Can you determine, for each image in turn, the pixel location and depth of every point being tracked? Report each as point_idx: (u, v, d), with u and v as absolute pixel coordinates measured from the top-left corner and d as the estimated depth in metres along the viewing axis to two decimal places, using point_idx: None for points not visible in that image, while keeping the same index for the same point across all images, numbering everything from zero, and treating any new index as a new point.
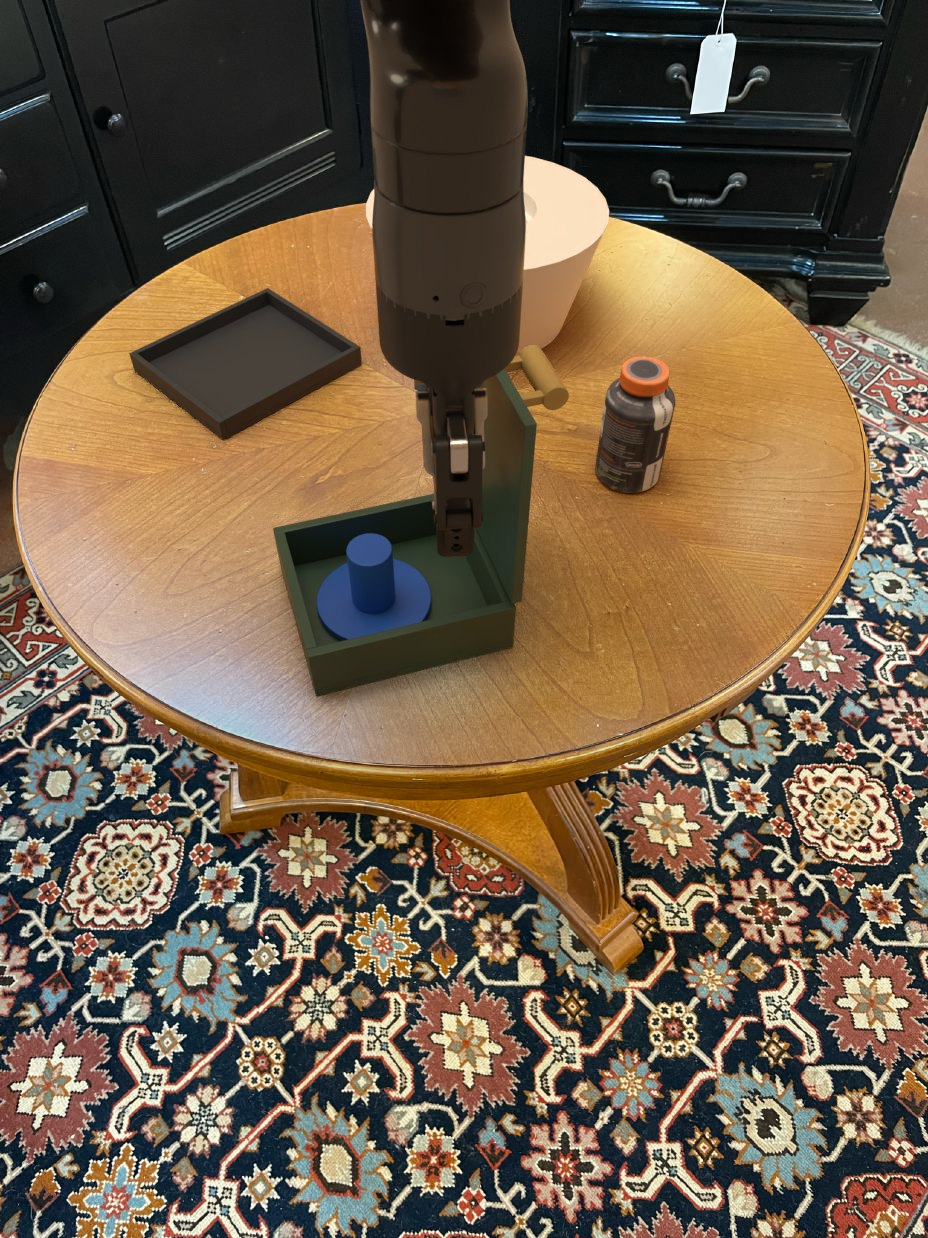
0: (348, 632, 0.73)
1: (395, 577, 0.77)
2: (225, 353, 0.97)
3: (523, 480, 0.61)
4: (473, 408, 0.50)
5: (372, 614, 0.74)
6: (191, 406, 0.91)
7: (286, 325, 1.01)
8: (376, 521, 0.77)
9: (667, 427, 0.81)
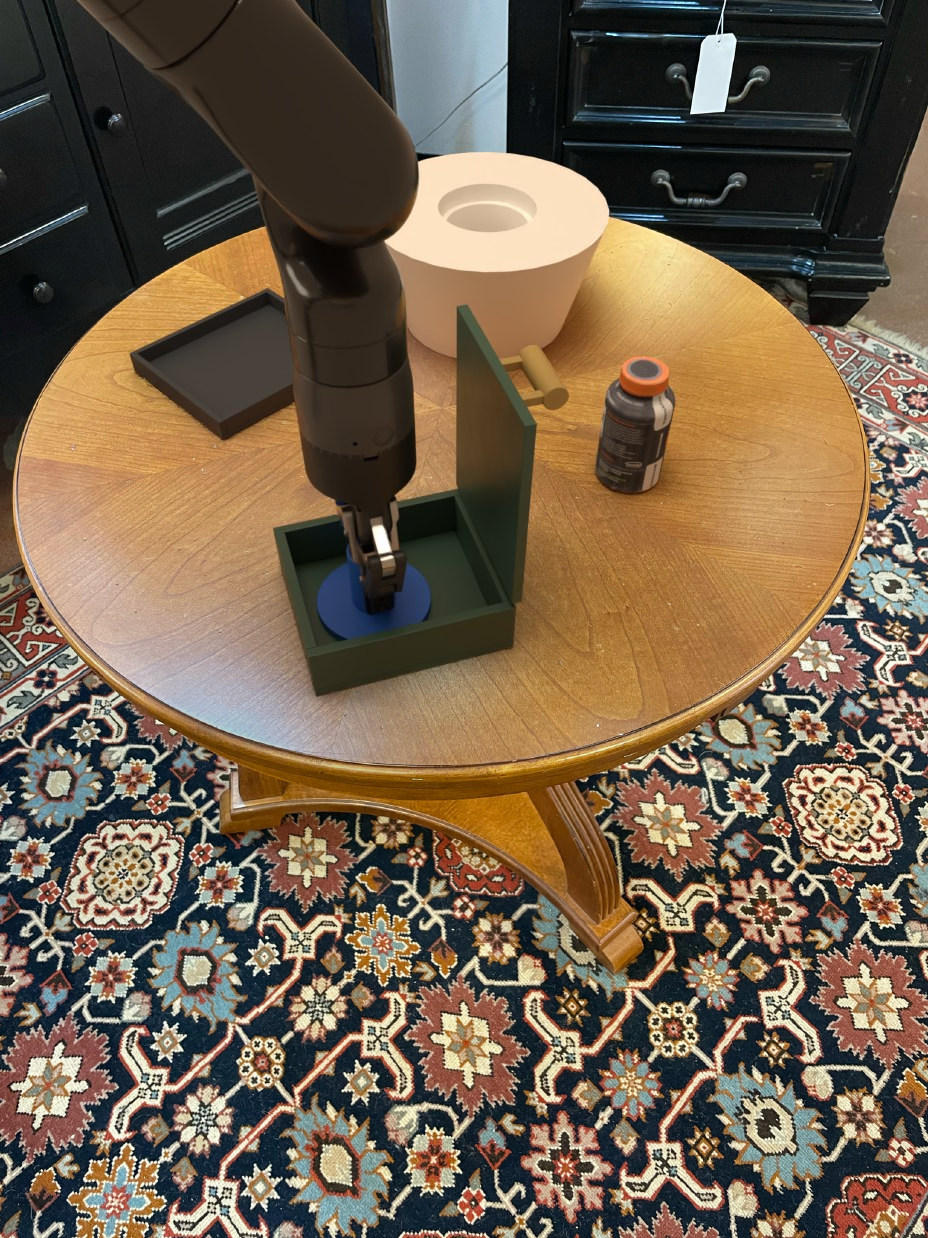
0: (348, 631, 0.73)
1: None
2: (225, 353, 0.97)
3: (523, 480, 0.61)
4: (390, 515, 0.64)
5: None
6: (191, 406, 0.91)
7: (286, 325, 1.01)
8: None
9: (667, 427, 0.81)
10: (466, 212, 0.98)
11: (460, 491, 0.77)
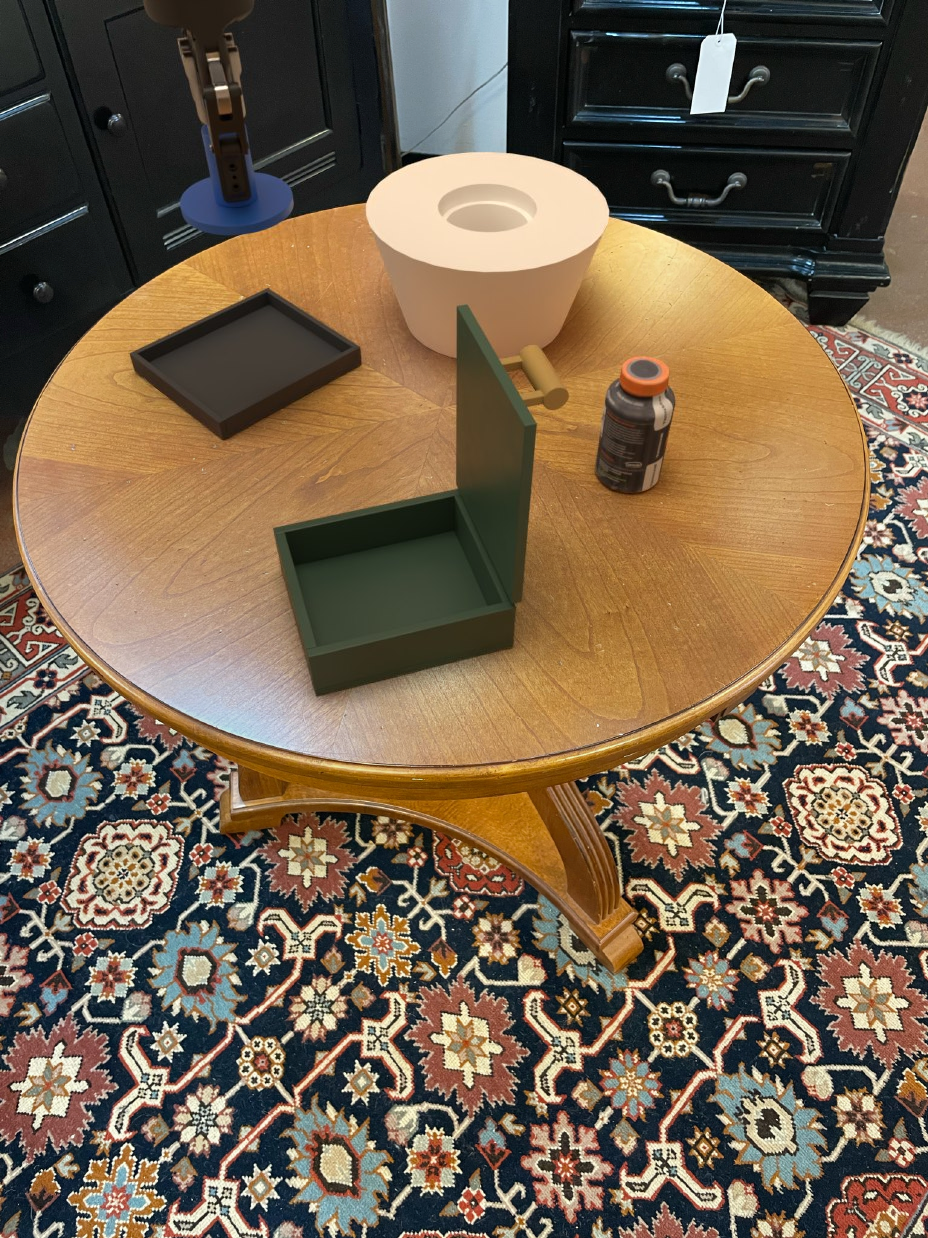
0: (207, 218, 0.75)
1: (260, 184, 0.79)
2: (225, 353, 0.97)
3: (523, 480, 0.61)
4: (226, 49, 0.66)
5: (232, 207, 0.76)
6: (191, 406, 0.91)
7: (286, 325, 1.01)
8: (376, 521, 0.77)
9: (667, 427, 0.81)
10: (466, 212, 0.98)
11: (460, 491, 0.77)
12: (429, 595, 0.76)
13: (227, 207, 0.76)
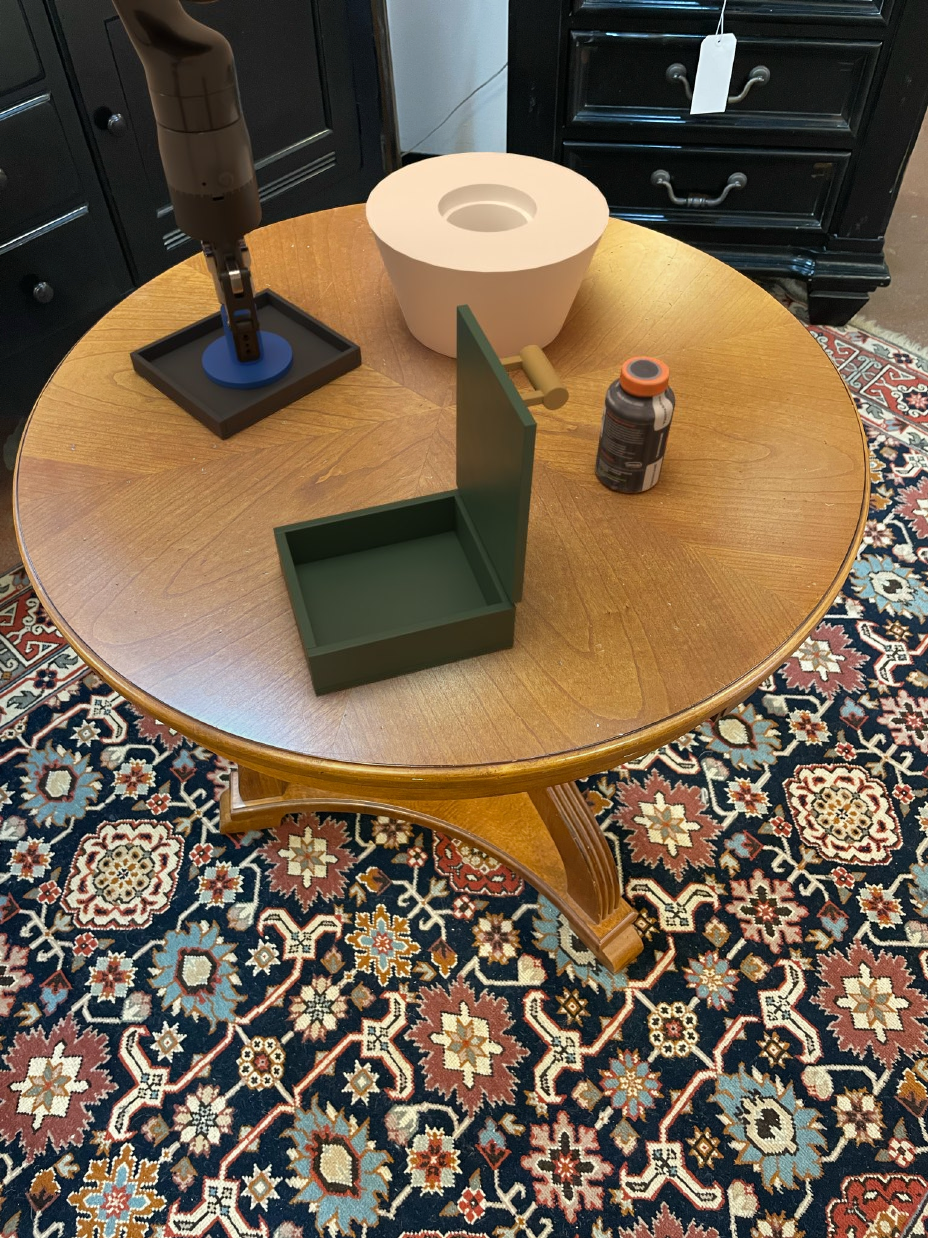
0: (224, 376, 0.94)
1: (266, 343, 0.97)
2: None
3: (523, 480, 0.61)
4: (240, 254, 0.84)
5: (244, 365, 0.95)
6: (191, 406, 0.91)
7: (286, 325, 1.01)
8: (376, 521, 0.77)
9: (667, 427, 0.81)
10: (466, 212, 0.98)
11: (460, 491, 0.77)
12: (429, 595, 0.76)
13: (240, 365, 0.95)
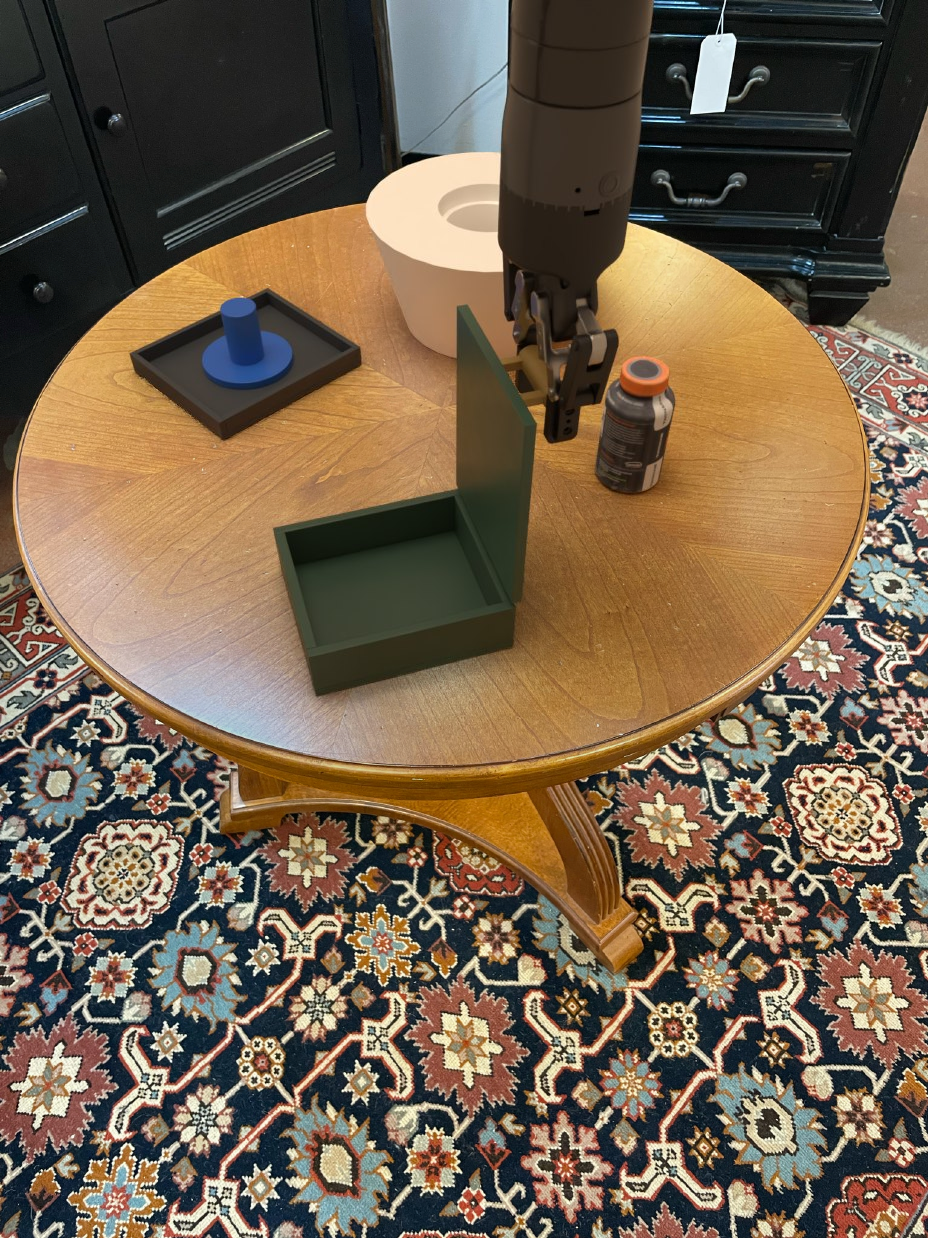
0: (224, 376, 0.94)
1: (266, 343, 0.97)
2: None
3: (523, 480, 0.61)
4: (597, 296, 0.56)
5: (244, 365, 0.95)
6: (191, 406, 0.91)
7: (286, 325, 1.01)
8: (376, 521, 0.77)
9: (667, 427, 0.81)
10: (466, 212, 0.98)
11: (460, 491, 0.77)
12: (429, 595, 0.76)
13: (240, 365, 0.95)
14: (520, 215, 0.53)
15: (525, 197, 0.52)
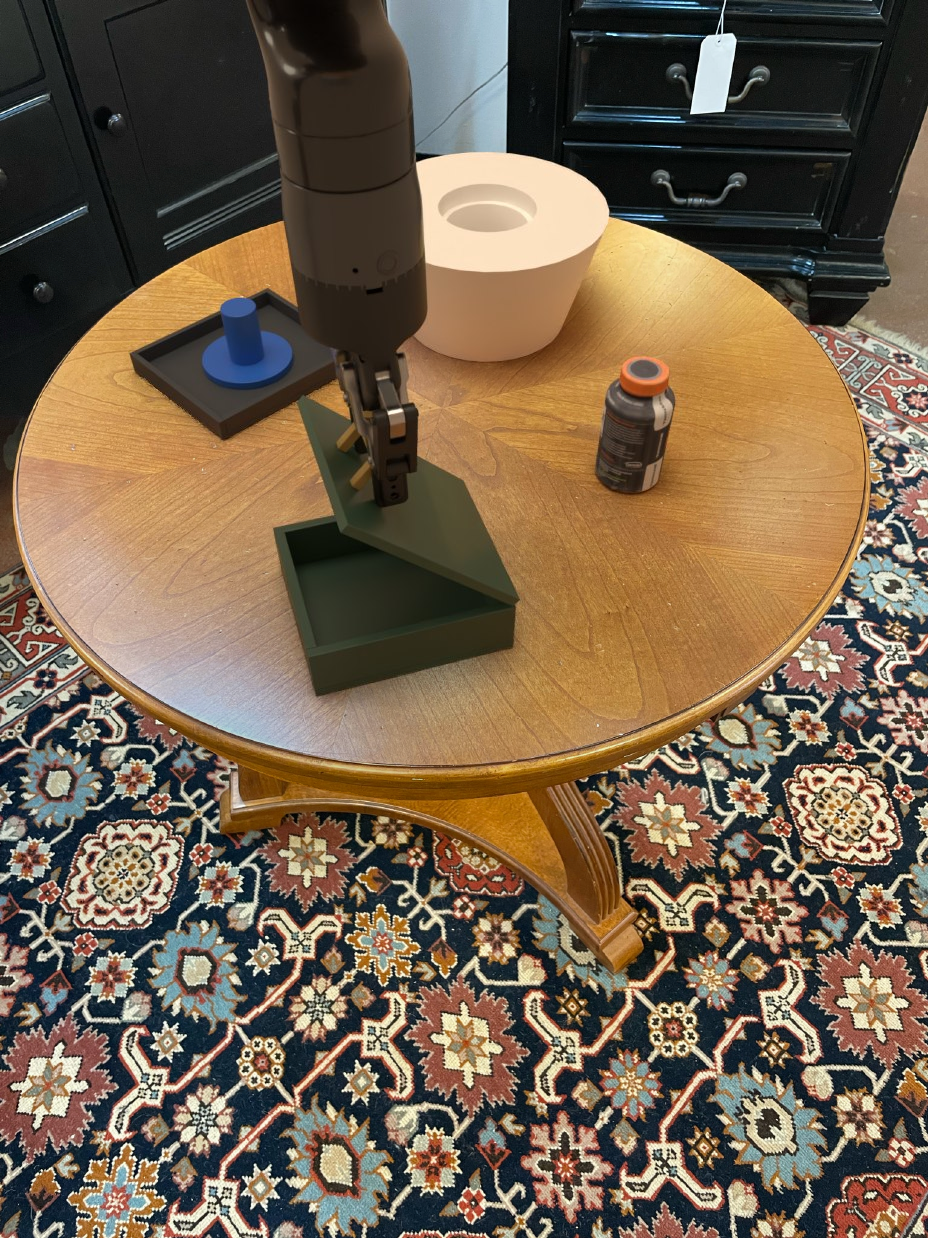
0: (224, 376, 0.94)
1: (266, 343, 0.97)
2: None
3: (394, 553, 0.62)
4: (398, 368, 0.55)
5: (244, 365, 0.95)
6: (191, 406, 0.91)
7: (286, 325, 1.01)
8: None
9: (667, 427, 0.81)
10: (466, 212, 0.98)
11: None
12: (429, 595, 0.76)
13: (240, 365, 0.95)
14: (307, 293, 0.52)
15: (307, 276, 0.51)
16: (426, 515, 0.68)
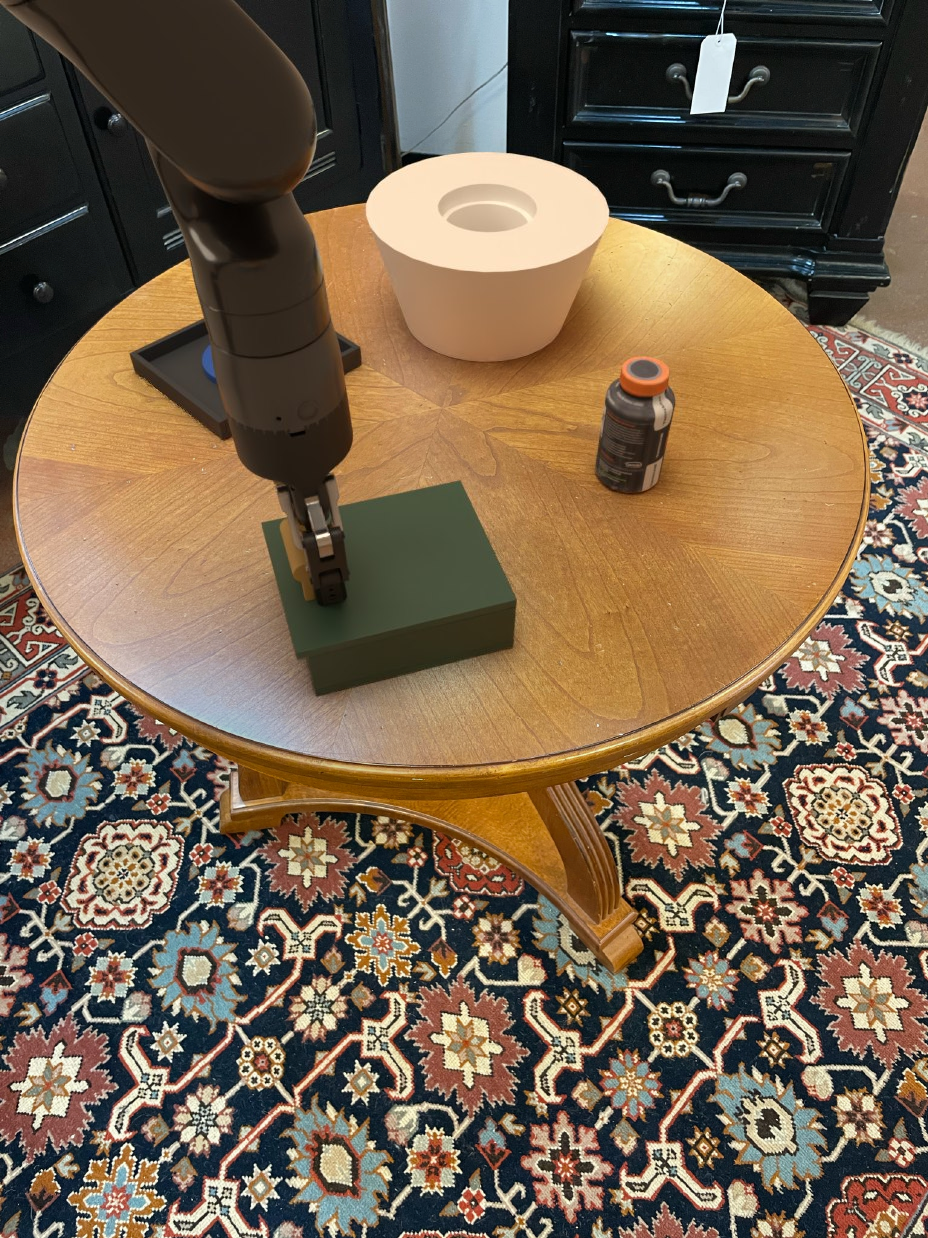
0: None
1: None
2: None
3: (358, 643, 0.68)
4: (326, 494, 0.61)
5: None
6: (191, 406, 0.91)
7: None
8: None
9: (667, 427, 0.81)
10: (466, 212, 0.98)
11: None
12: None
13: None
14: (238, 434, 0.58)
15: (237, 421, 0.57)
16: (398, 570, 0.72)
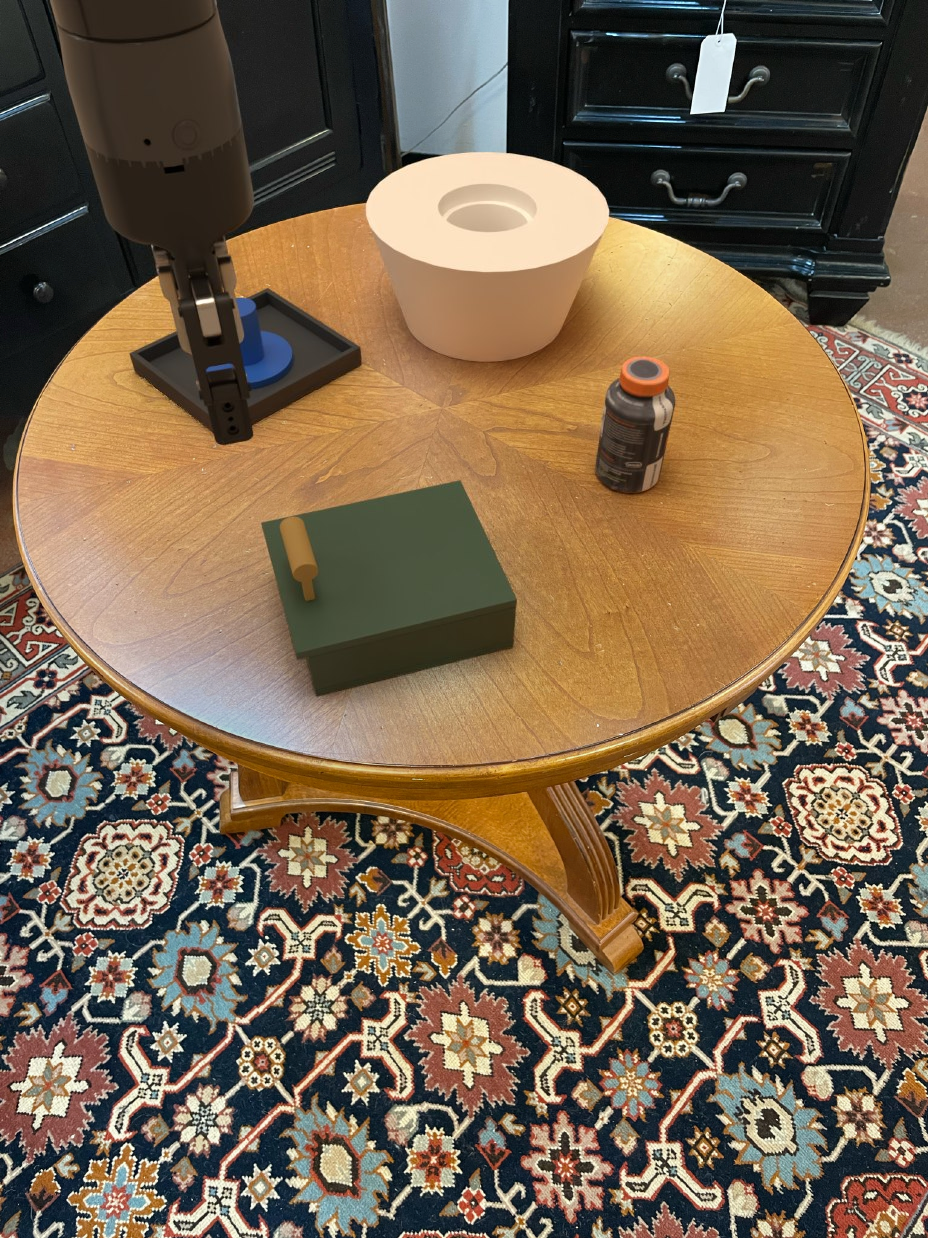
0: None
1: (266, 343, 0.97)
2: None
3: (358, 643, 0.68)
4: (217, 269, 0.48)
5: (244, 365, 0.95)
6: (191, 406, 0.91)
7: (286, 325, 1.01)
8: None
9: (667, 427, 0.81)
10: (466, 212, 0.98)
11: None
12: None
13: None
14: (100, 173, 0.45)
15: (97, 151, 0.44)
16: (398, 570, 0.72)
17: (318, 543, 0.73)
